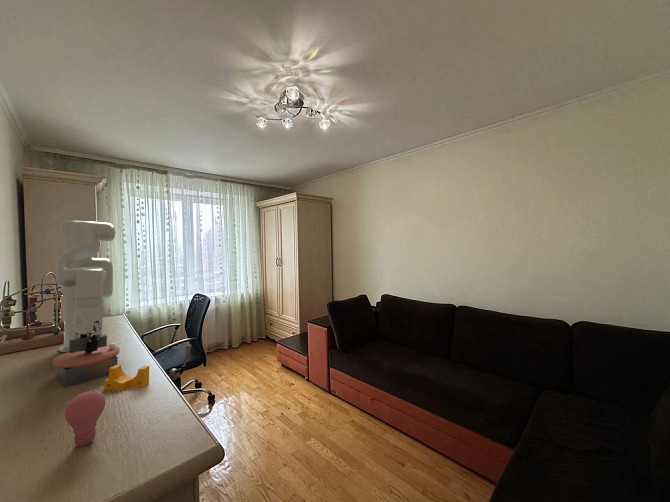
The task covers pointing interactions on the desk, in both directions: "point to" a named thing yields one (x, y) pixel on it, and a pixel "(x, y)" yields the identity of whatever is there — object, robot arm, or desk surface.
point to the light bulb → (84, 415)
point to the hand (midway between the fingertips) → (87, 350)
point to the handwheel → (79, 355)
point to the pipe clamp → (126, 378)
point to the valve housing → (85, 372)
